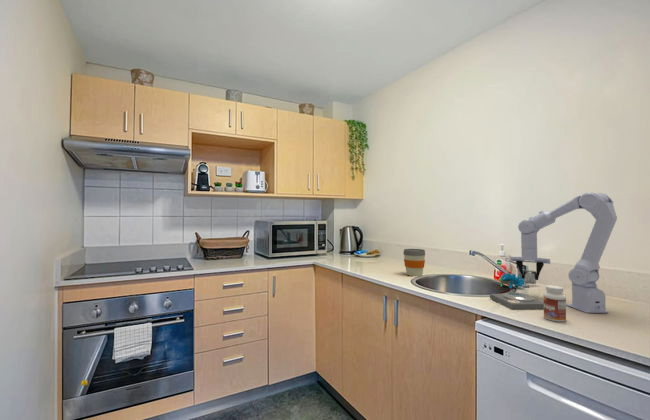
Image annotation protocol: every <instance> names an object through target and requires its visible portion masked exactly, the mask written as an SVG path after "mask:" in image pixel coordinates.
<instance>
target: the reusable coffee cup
mask: <svg viewBox="0 0 650 420" xmlns="http://www.w3.org/2000/svg"><path fill="white" fill-rule="evenodd" d="M402 253H403V257H404V258H403V261H404V263H403V264H404V267H405V271H406V275H407V276H408V275H410V276H409V277H413V276H420V277H423V273H424V268H425V263H426V259H425V256H426V250H425V249H420V248H405V249H403V252H402Z"/></svg>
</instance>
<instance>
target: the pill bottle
mask: <svg viewBox="0 0 650 420" xmlns="http://www.w3.org/2000/svg"><path fill="white" fill-rule="evenodd" d="M545 290H546V291H545V292H544V293H543V302H544V309H543V317H544V319H546V320H548V321H552V322H558V323H563V322H566V321H567V305H566V304H567V296H566V295H565V294H564V287H562V286H557V285H551V284H550V285H549V284H547V285H545Z"/></svg>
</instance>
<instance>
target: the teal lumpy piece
mask: <svg viewBox="0 0 650 420" xmlns="http://www.w3.org/2000/svg"><path fill="white" fill-rule="evenodd" d="M498 281H499V282H500V287H502V288H503V284H505V285H509V289H511V290H512V288H513V286H514V287H515V288H518V287H523V285H525V283H524V279H522V277H521V275H517V274H516V273H512V274H511V273H510V272H507V273H505V272H504V273H503V274H502V275H500V277H499V278H498Z"/></svg>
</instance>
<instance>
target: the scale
mask: <svg viewBox="0 0 650 420" xmlns="http://www.w3.org/2000/svg"><path fill="white" fill-rule="evenodd" d="M489 299H491V300H492V301H495V302H497V303H498V304H499V305H502V306H504V307H506V308H508V309H510V310H517V311H520V310H522V311H523V310H544V300H543V301H542V300H540V299H537V298H536V297H535V296H533V295H531V294H527V293H519V292H505V293H490V294H489Z"/></svg>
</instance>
